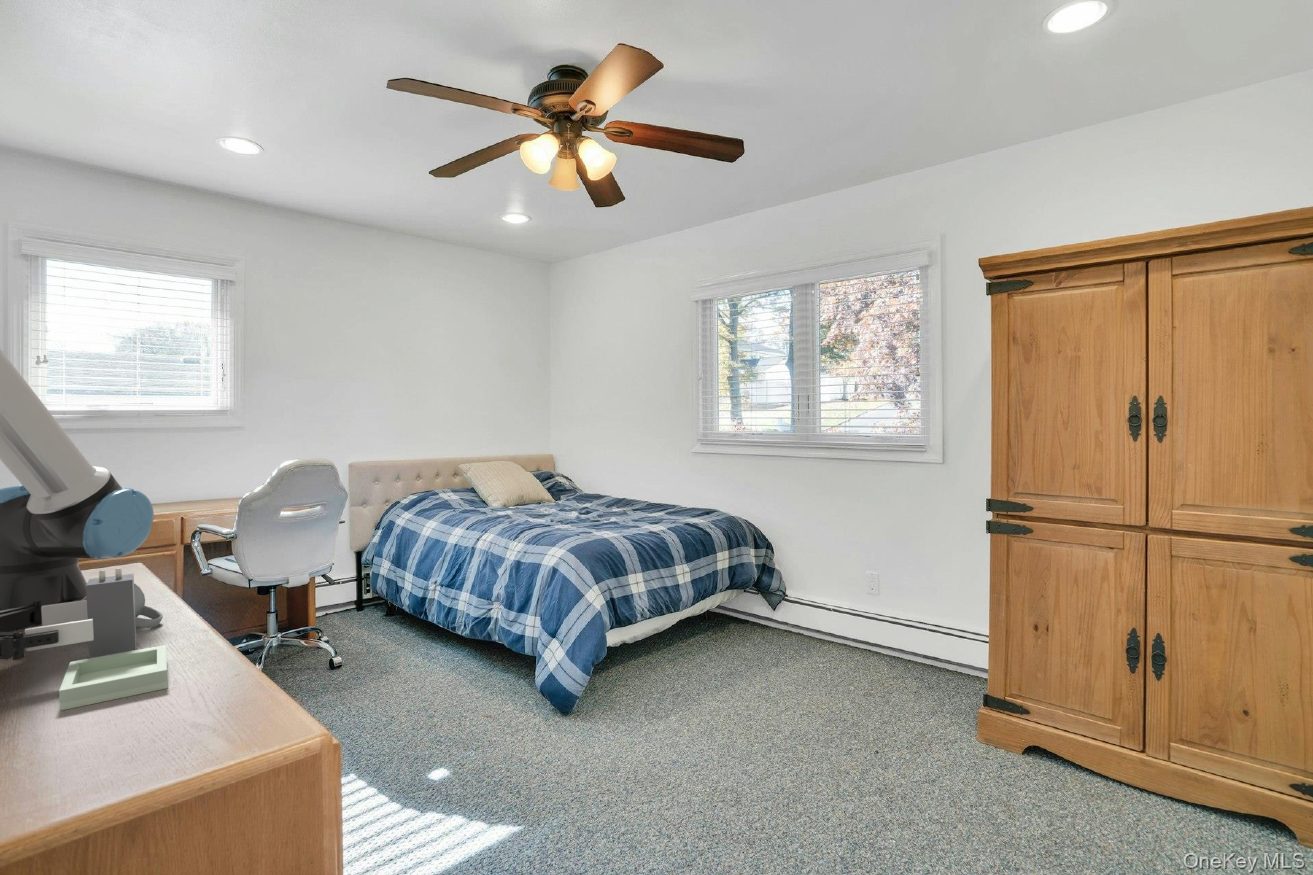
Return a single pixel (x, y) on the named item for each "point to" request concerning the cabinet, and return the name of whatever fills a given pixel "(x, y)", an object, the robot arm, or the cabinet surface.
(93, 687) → the shallow pale green tray
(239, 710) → the cabinet surface
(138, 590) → the ceramic mug
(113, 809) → the cabinet surface
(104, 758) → the cabinet surface
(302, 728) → the cabinet surface
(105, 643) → the charger brick
